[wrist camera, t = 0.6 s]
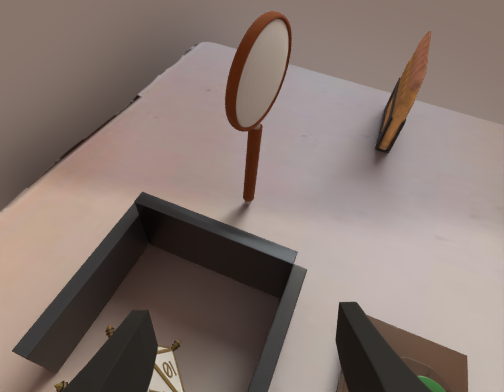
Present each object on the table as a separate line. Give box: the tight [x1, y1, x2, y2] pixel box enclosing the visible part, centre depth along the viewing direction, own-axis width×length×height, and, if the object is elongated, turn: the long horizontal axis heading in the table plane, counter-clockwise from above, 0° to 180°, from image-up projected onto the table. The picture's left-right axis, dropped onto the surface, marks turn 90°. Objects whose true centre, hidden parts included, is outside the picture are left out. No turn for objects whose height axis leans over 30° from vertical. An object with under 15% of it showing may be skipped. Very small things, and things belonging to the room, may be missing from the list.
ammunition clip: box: [375, 31, 431, 153], centre depth 42 cm, size 11×2×12 cm, turn 157°
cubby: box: [12, 192, 307, 392], centre depth 25 cm, size 14×16×7 cm
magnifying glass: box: [225, 11, 292, 204], centre depth 29 cm, size 9×2×20 cm, turn 149°
